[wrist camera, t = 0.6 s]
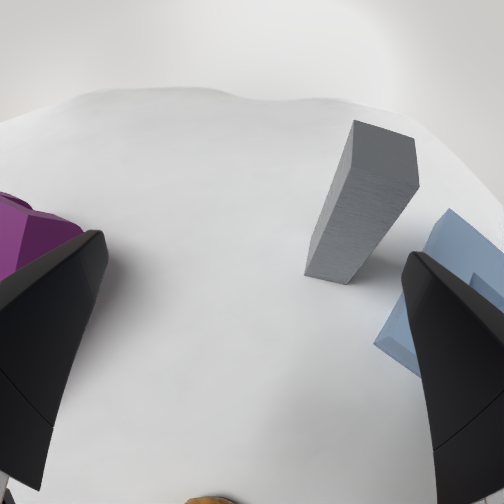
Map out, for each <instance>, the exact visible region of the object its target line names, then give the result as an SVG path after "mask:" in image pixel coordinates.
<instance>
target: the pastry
mask: <svg viewBox="0 0 504 504" xmlns="http://www.w3.org/2000/svg"><path fill="white" fill-rule="evenodd" d="M185 504H234V503H233V502H231V501H229V500H226V499H224V498H220V497H201V498H193V499H189V500H188V501H187V502H186V503H185Z"/></svg>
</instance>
